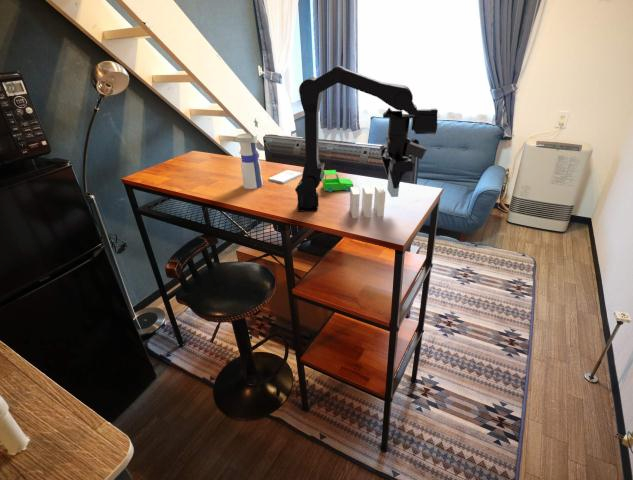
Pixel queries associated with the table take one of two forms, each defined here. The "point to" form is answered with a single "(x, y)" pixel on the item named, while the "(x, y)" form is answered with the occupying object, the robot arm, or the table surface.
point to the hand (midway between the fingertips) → (393, 184)
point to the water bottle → (250, 160)
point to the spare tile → (392, 188)
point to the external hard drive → (285, 176)
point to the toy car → (336, 182)
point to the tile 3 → (379, 201)
